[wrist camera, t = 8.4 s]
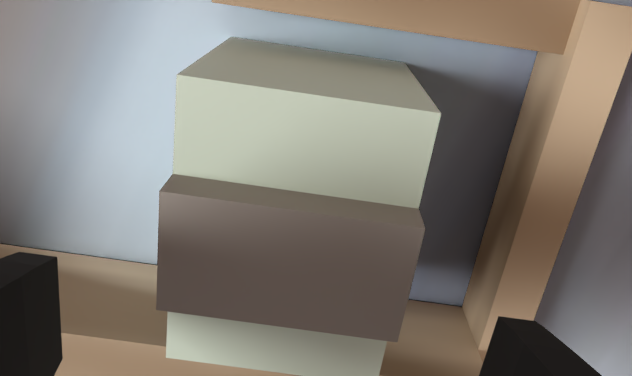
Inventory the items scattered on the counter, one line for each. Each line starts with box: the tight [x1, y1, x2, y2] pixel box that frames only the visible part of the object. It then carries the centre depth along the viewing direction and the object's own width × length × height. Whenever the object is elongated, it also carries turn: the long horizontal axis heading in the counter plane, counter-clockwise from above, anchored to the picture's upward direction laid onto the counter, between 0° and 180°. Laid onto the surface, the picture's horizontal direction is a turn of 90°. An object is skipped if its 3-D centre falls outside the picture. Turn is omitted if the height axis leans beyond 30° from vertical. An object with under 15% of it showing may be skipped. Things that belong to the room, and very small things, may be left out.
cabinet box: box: [156, 37, 441, 376], centre depth 12 cm, size 6×4×6 cm
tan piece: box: [0, 0, 632, 376], centre depth 13 cm, size 11×16×4 cm
